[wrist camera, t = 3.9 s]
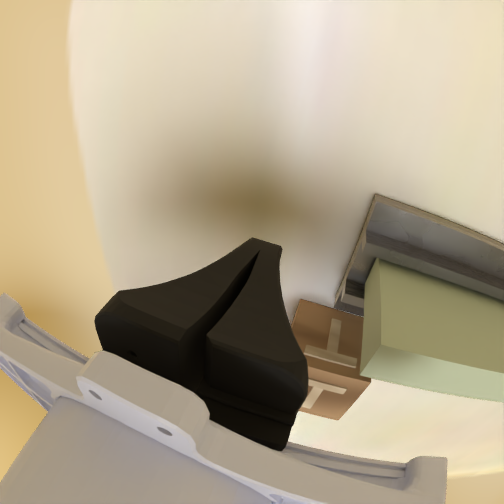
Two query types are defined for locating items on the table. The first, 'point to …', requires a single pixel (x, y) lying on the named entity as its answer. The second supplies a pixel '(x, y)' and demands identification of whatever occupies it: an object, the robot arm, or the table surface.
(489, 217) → the table surface
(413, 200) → the table surface
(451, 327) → the pale green long bar
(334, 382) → the block
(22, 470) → the robot arm
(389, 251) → the track
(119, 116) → the table surface
